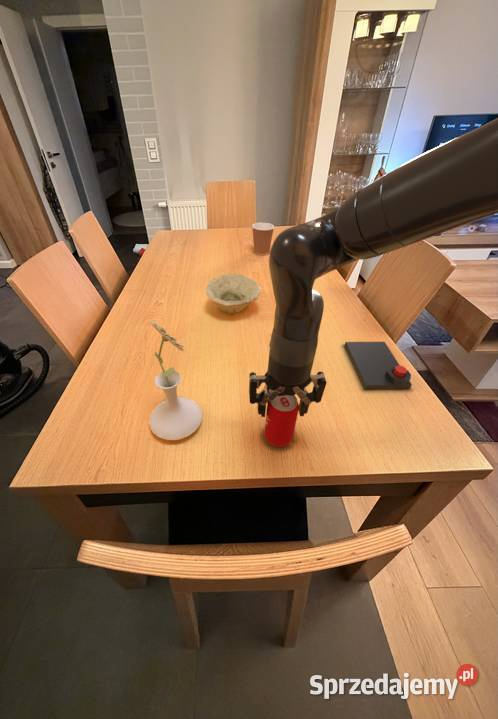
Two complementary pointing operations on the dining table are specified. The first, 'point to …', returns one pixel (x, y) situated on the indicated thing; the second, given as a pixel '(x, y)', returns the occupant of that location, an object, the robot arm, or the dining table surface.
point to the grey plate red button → (376, 366)
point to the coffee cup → (262, 237)
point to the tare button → (399, 371)
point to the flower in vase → (172, 401)
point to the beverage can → (281, 420)
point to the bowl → (233, 292)
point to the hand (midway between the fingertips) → (281, 413)
